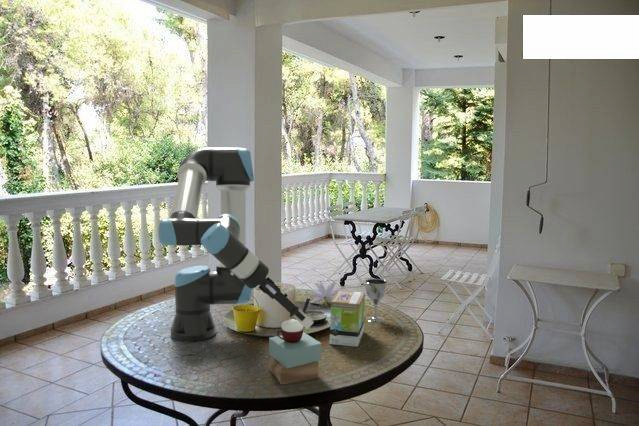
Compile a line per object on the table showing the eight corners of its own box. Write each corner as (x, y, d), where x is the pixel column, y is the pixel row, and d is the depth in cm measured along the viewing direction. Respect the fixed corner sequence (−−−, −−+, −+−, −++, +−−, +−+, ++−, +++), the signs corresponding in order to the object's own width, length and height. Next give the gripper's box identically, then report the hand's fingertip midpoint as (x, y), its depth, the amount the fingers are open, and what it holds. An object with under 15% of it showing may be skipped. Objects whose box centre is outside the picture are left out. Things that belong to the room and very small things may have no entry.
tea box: (359, 347, 166) (360, 303, 164) (328, 344, 168) (329, 301, 166) (364, 331, 181) (365, 291, 179) (336, 329, 183) (337, 289, 181)
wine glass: (389, 318, 195) (390, 280, 193) (380, 324, 188) (381, 285, 187) (370, 315, 199) (371, 277, 197) (361, 320, 193) (362, 281, 191)
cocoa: (276, 345, 142) (275, 304, 140) (278, 336, 148) (277, 297, 147) (310, 344, 142) (309, 303, 140) (311, 335, 148) (310, 296, 146)
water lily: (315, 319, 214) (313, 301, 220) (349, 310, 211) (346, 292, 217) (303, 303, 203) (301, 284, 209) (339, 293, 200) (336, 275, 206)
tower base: (269, 369, 149) (269, 353, 148) (303, 364, 153) (304, 348, 153) (281, 385, 139) (281, 368, 138) (318, 379, 143) (318, 362, 143)
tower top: (269, 354, 148) (269, 337, 147) (302, 347, 153) (302, 331, 153) (286, 368, 138) (287, 350, 138) (321, 360, 144) (321, 343, 143)
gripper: (232, 271, 148) (284, 318, 155) (249, 290, 128) (308, 343, 135) (250, 252, 149) (301, 299, 156) (269, 267, 129) (327, 321, 137)
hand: (304, 320), depth 146 cm, fingers open, 9 cm apart
